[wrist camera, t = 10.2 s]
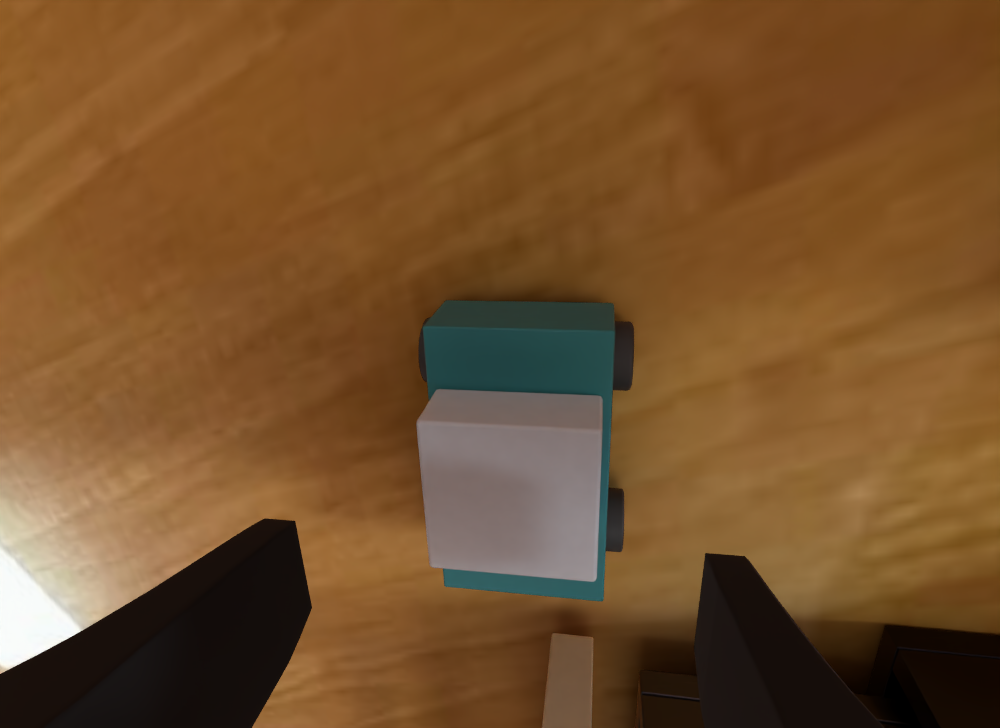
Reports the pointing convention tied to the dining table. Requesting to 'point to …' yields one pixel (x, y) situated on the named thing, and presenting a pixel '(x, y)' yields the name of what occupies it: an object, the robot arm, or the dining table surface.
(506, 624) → the dining table surface
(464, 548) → the toy car
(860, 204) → the dining table surface
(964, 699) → the black cabinet
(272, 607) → the robot arm
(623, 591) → the dining table surface
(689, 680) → the drawer
